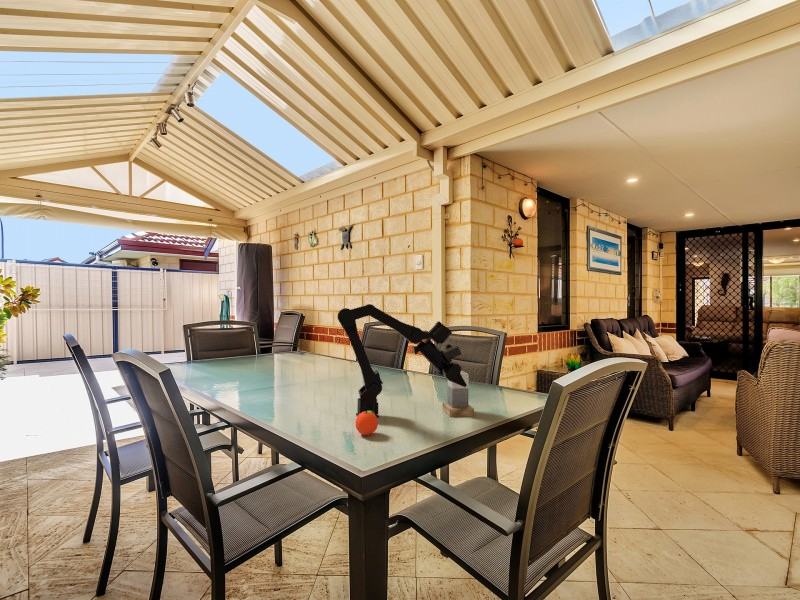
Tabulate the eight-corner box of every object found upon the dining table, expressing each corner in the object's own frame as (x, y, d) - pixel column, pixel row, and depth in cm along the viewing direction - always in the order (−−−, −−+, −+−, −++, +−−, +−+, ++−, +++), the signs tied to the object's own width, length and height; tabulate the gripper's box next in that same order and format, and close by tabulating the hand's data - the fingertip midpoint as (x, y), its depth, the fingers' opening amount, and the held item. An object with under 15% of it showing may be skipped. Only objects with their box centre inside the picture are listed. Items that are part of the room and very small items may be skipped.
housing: (452, 408, 140) (452, 374, 140) (447, 403, 146) (447, 371, 146) (468, 407, 141) (468, 374, 141) (462, 403, 147) (463, 371, 147)
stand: (449, 416, 138) (449, 409, 138) (442, 409, 147) (442, 402, 147) (473, 415, 139) (473, 408, 139) (465, 408, 148) (465, 402, 148)
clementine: (365, 428, 125) (366, 406, 125) (384, 432, 121) (384, 409, 121) (350, 435, 118) (350, 412, 118) (369, 440, 114) (369, 415, 114)
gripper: (455, 340, 133) (486, 372, 135) (440, 335, 152) (467, 363, 154) (433, 364, 132) (464, 395, 134) (420, 356, 150) (448, 384, 152)
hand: (461, 383), depth 143 cm, fingers open, 9 cm apart
